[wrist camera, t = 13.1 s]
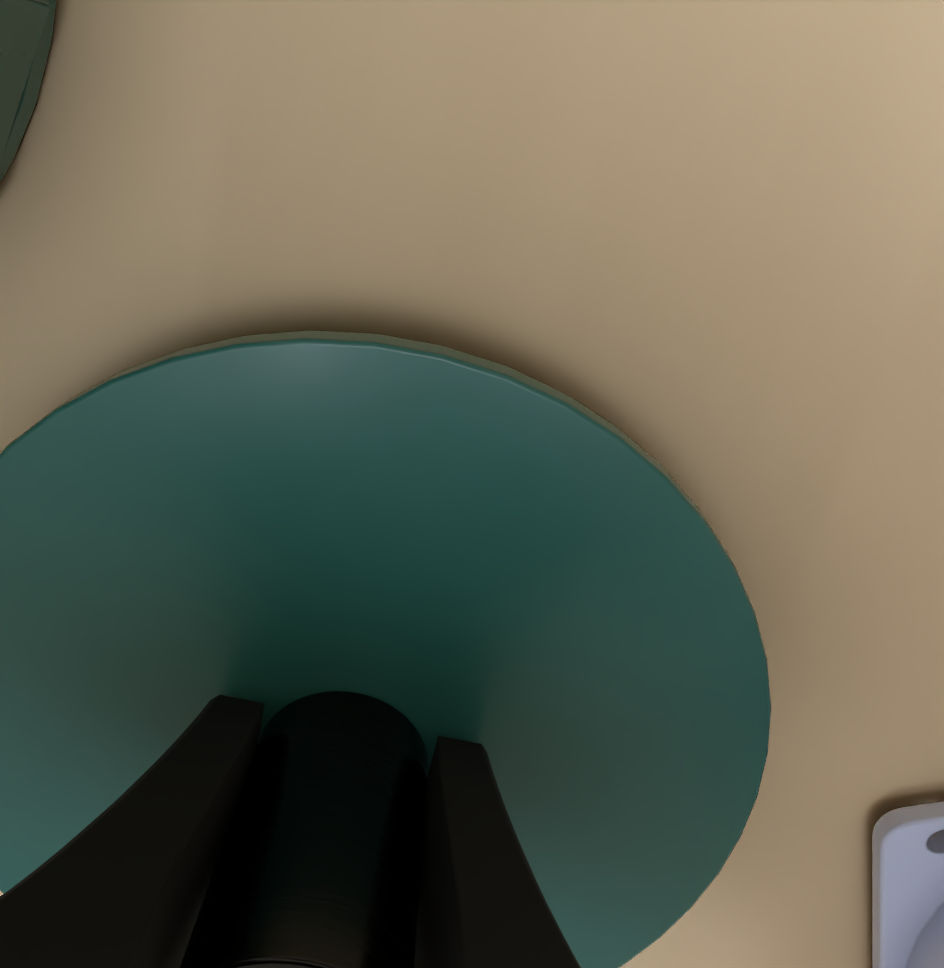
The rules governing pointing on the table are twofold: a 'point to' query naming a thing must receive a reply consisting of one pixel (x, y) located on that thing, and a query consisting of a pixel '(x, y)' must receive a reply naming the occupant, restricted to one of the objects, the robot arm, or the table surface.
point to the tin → (21, 67)
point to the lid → (374, 637)
